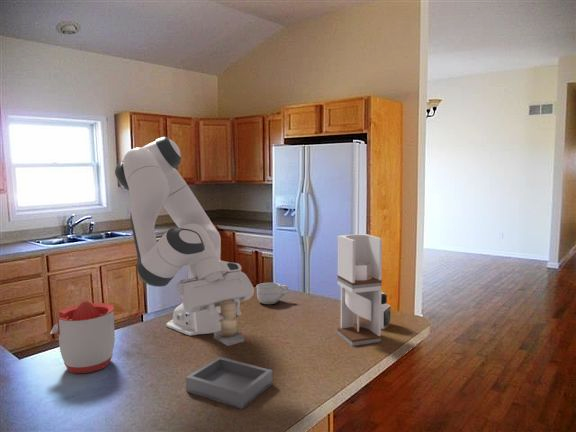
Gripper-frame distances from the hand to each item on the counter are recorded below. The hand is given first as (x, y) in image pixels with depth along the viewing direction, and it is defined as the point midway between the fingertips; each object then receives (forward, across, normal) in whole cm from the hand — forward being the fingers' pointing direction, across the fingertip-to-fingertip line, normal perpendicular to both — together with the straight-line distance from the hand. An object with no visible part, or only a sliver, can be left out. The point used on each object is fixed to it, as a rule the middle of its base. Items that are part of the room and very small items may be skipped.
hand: (229, 318), depth 114 cm
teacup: (-23, +54, +51) cm, 78 cm away
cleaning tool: (+4, 0, +4) cm, 6 cm away
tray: (+13, 0, +14) cm, 19 cm away
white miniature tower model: (+13, +52, +15) cm, 56 cm away
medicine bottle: (+10, +67, +17) cm, 70 cm away
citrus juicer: (-14, -26, +42) cm, 51 cm away
